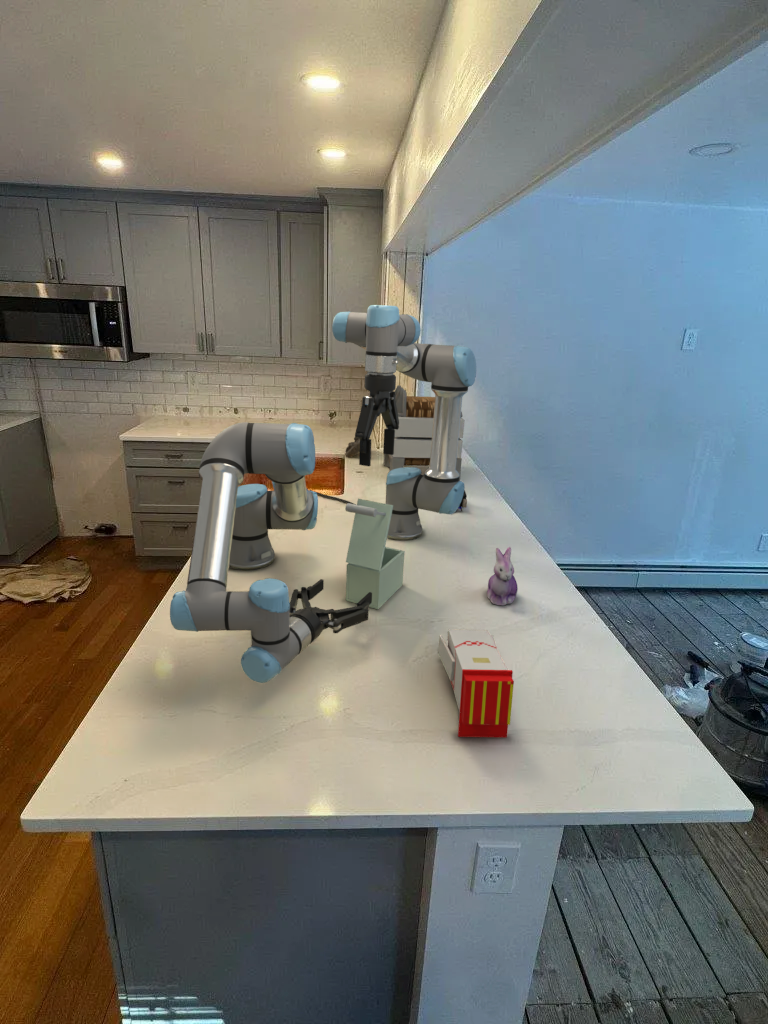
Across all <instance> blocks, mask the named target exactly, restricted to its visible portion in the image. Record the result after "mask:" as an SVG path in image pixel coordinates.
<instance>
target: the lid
mask: <svg viewBox="0 0 768 1024" xmlns="http://www.w3.org/2000/svg"><path fill="white" fill-rule="evenodd" d="M345 504H346V505H345V507H344V508H345V511H346V512H348V513H353V514H354V517H353V518H354V519H353V523H352V529H351V533H350V537H349V542H348V547H347V554H346V558H345V563H347V564H348V563H351V564H355V565H359V566H363V567H367V568H371V569H375V570H381V566H382V561H383V556H384V551H385V547H386V545H387V540H388V538H387V535H388V530H389V525H390V520H391V515H392V510H393V505H389V504H386V503H384V502H378V501H374V500H368V499H362V498H357V502H356V503H354V504H350V503H345ZM355 504H356V505H355Z"/></svg>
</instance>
